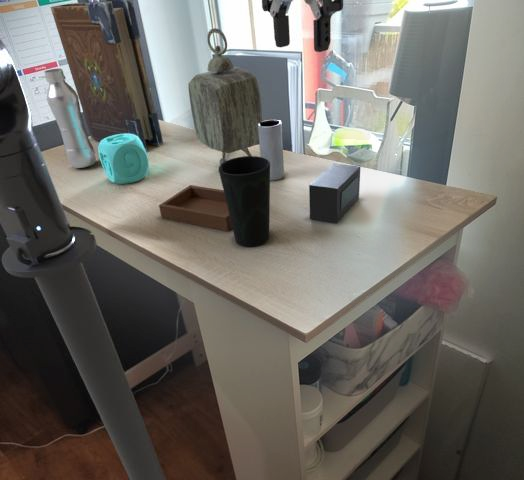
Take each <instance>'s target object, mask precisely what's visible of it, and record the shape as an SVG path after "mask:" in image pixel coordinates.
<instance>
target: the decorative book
mask: <svg viewBox="0 0 524 480" xmlns="http://www.w3.org/2000/svg"><path fill="white" fill-rule="evenodd" d="M133 1H134V0H105V1H89V2H75V3H73V2H71V3H65V4H60V5H53V6H50V10H51V13H52V16H53V21H54V23H55V27H56V30H57V33H58V37H59V39H60V42H61V46H62V49H63V52H64V55H65V59H66V61H67V64H68V68H69V71H70V74H71V78H72V81H73V83H74V87H75V92H76V93H77V95H78V99H79V104H80V108H81V109H82V113H83V117H84V118H85V123H86V126H87V129H88V132H89V135H90V138H91V139H92V140H96V141H101V140H102V139H104V138H106V137H109V136H112V135H117V134H126V133H129V134H135V135H136V136H138V137H139V139H140V140H141V142H142V144H143V146H144V148H145V150H146V152H147V151H148V148H147V144H149V145H153V146H157V147H159V146H162V145H164V139H163V134H162V131H161V126H160V122H159V117H158V112H156V111H155V106H154V102H153V97H152V96H153V95H152V92H151V88H150V83H149V79H148V74H147V69H146V65H145V60H144V56H143V51H142V47H141V43H140V39H141V33H140V29H139V25H138V19H137V15H136V11H135V5H134V2H133Z"/></svg>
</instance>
